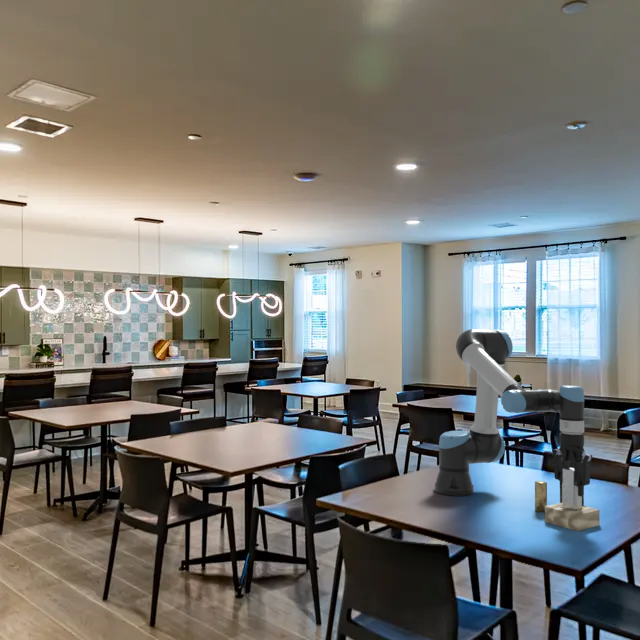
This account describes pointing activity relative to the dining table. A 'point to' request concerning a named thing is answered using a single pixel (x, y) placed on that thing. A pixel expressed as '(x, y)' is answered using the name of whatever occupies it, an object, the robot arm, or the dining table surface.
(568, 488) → the square bit
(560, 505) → the socket block
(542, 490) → the round bit
